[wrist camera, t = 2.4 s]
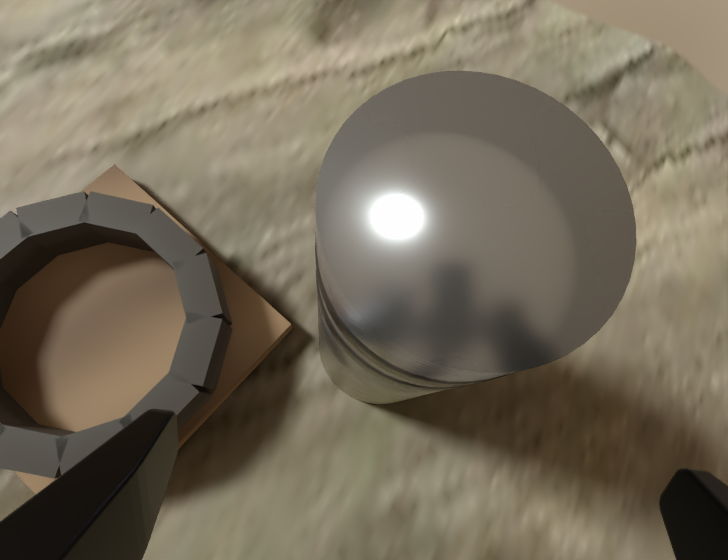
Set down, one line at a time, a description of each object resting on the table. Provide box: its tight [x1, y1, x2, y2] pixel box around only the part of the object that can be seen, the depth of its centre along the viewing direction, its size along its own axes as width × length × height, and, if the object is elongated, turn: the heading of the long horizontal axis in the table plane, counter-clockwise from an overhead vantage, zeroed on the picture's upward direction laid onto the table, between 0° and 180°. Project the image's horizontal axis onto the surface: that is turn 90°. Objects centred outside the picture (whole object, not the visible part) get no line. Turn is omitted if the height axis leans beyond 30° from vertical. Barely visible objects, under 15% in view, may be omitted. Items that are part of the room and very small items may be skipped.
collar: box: [0, 164, 293, 494], centre depth 17 cm, size 10×10×3 cm
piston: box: [315, 71, 636, 404], centre depth 14 cm, size 5×5×13 cm
